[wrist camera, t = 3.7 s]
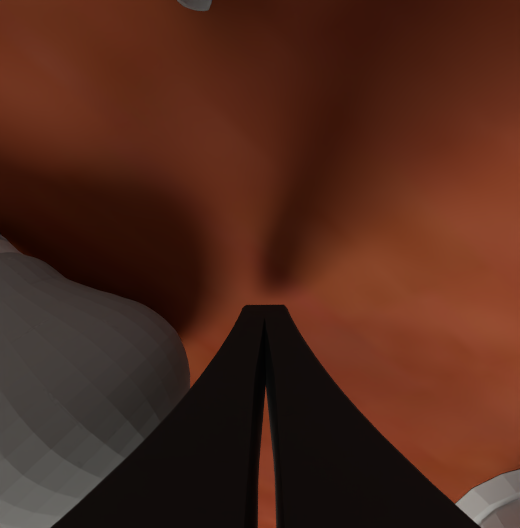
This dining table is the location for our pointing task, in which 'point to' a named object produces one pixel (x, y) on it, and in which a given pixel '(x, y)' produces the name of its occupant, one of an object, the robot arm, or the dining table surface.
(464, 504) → the french press
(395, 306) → the dining table surface
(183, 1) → the binoculars
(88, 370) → the light bulb
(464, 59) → the dining table surface
